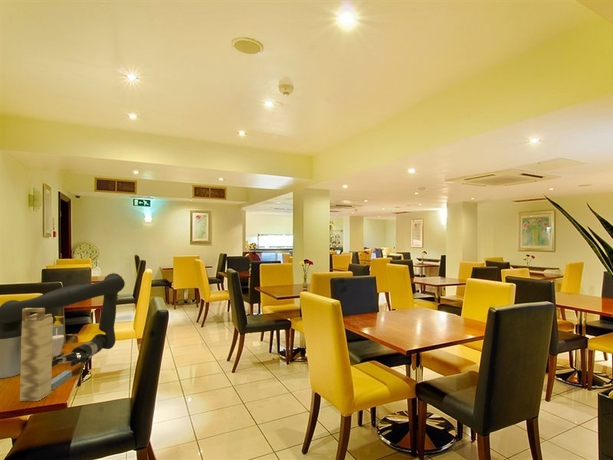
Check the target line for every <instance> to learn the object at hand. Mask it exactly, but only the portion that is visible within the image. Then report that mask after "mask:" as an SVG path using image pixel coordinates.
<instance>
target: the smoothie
mask: <svg viewBox="0 0 613 460" xmlns="http://www.w3.org/2000/svg"><path fill="white" fill-rule="evenodd" d="M63 338H64V339H65V334H64V335H57V328H56V336H52V357H55V356H58V355H60V354H62V349H63V348H62V344H63Z"/></svg>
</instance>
